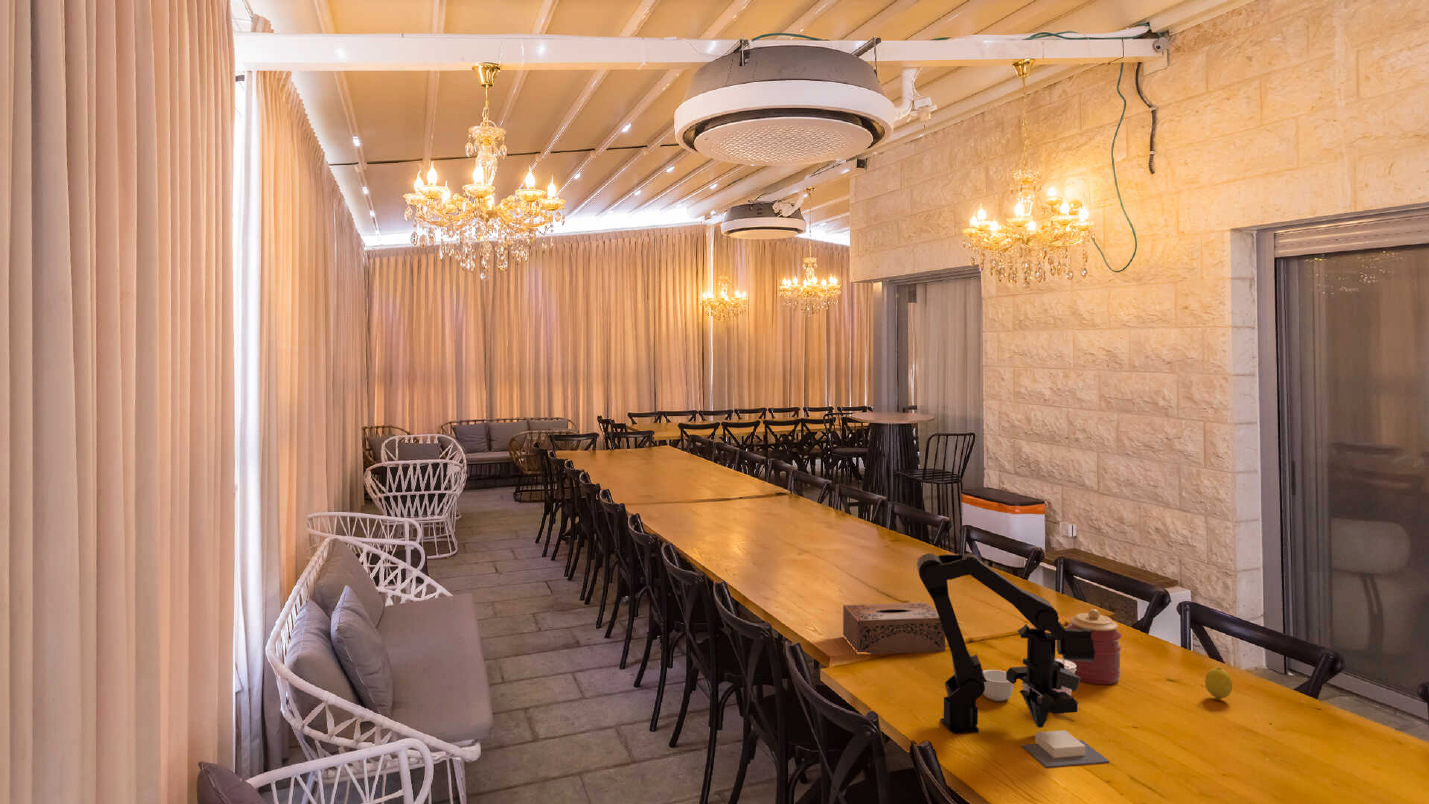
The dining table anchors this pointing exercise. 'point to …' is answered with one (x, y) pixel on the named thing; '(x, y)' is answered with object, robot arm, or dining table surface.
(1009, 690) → the teacup
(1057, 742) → the block
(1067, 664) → the smoothie
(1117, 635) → the canister
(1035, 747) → the mat
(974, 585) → the dining table surface
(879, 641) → the tissue box cover
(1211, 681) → the lemon
